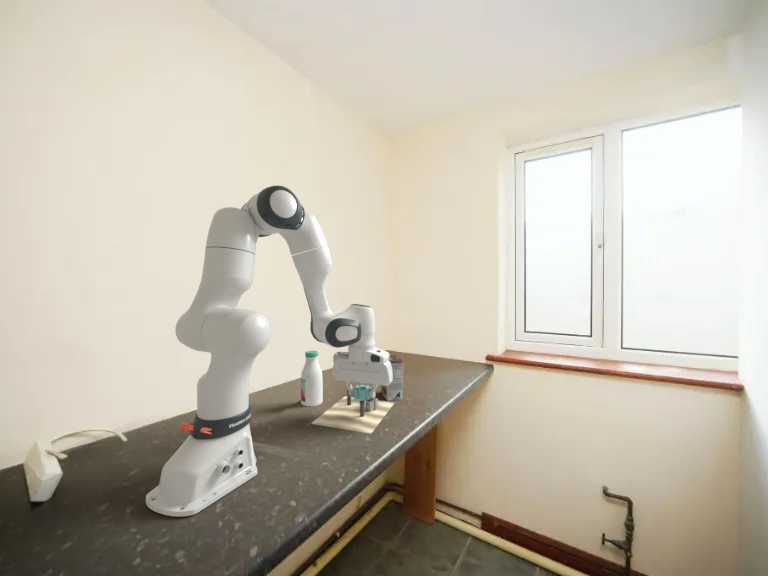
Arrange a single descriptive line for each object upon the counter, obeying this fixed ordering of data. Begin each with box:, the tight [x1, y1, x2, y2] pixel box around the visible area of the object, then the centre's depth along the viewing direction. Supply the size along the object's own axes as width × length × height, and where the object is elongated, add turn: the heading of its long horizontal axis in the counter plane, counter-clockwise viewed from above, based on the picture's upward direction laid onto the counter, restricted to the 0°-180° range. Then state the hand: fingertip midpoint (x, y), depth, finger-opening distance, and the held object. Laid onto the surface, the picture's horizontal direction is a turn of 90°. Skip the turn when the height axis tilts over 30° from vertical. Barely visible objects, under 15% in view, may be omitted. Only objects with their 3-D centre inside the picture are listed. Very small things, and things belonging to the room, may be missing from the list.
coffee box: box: [380, 354, 404, 402], centre depth 116 cm, size 9×6×16 cm
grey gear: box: [364, 396, 379, 412], centre depth 104 cm, size 6×6×3 cm
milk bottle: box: [300, 350, 324, 407], centre depth 110 cm, size 8×8×20 cm
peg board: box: [310, 389, 395, 435], centre depth 101 cm, size 24×20×6 cm
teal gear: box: [352, 384, 372, 401], centre depth 98 cm, size 6×6×3 cm
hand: (362, 395), depth 98 cm, fingers closed on teal gear, 6 cm apart
